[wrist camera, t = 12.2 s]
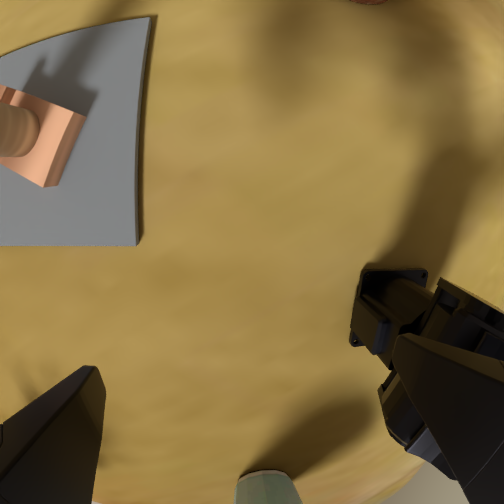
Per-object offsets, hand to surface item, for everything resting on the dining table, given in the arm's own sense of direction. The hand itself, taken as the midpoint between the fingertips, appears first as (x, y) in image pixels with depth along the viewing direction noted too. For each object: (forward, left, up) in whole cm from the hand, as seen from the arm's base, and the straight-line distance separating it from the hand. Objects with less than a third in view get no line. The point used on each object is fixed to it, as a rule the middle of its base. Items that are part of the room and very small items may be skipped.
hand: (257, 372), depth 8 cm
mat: (+14, -9, -13) cm, 21 cm away
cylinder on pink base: (+14, -9, -12) cm, 21 cm away
